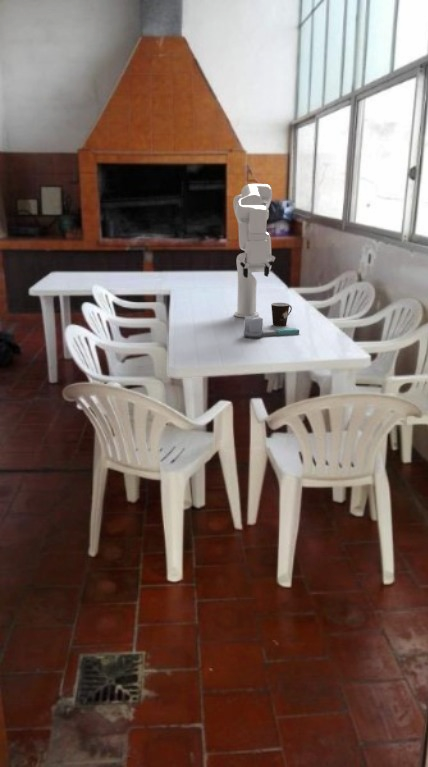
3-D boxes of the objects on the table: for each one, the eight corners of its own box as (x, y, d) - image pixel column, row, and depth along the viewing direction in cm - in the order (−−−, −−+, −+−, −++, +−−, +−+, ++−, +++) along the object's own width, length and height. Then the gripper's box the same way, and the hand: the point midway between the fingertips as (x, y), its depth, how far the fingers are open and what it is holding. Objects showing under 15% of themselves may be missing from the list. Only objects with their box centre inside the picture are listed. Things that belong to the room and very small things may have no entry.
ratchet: (240, 334, 260) (241, 321, 258) (293, 331, 268) (294, 318, 266) (247, 339, 253) (247, 326, 251) (301, 335, 260) (302, 322, 258)
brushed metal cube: (244, 330, 259) (244, 316, 257) (257, 329, 260) (257, 315, 259) (249, 333, 253) (249, 319, 251) (262, 332, 255) (262, 318, 253)
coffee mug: (274, 327, 275) (275, 306, 272) (267, 323, 283) (268, 303, 280) (297, 326, 278) (298, 305, 275) (290, 322, 286) (291, 301, 282)
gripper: (272, 235, 260) (270, 274, 266) (235, 236, 255) (234, 276, 261) (279, 237, 253) (277, 277, 259) (241, 238, 248) (240, 279, 254)
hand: (255, 276), depth 260 cm, fingers open, 9 cm apart
